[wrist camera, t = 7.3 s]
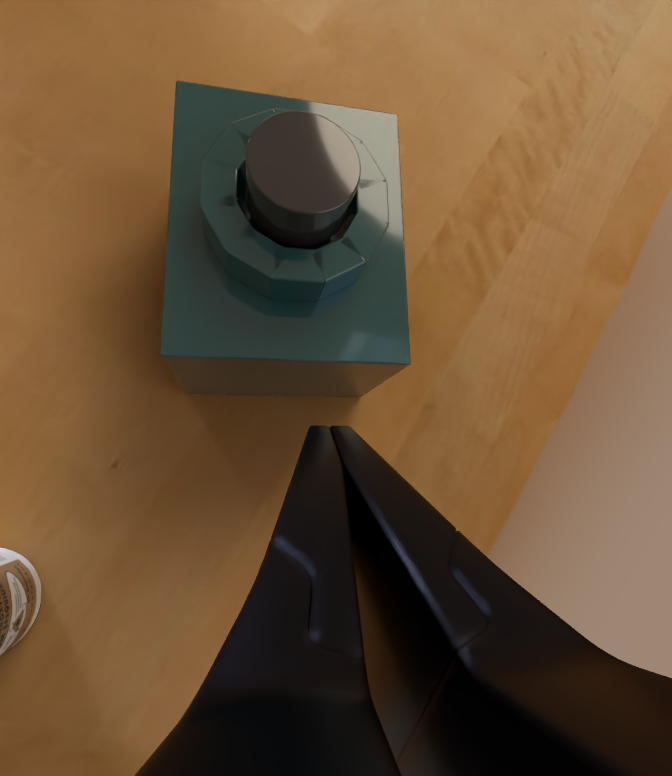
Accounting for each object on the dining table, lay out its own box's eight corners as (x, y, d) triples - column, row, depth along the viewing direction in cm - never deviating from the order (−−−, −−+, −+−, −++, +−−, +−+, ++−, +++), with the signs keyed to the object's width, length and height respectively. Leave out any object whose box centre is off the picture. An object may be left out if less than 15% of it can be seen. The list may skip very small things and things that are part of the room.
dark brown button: (347, 251, 16) (363, 219, 14) (243, 242, 15) (244, 207, 13) (345, 161, 17) (360, 118, 15) (245, 147, 16) (246, 101, 14)
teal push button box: (361, 397, 24) (430, 351, 15) (184, 394, 22) (149, 340, 13) (356, 209, 26) (413, 77, 17) (193, 193, 24) (168, 34, 16)
